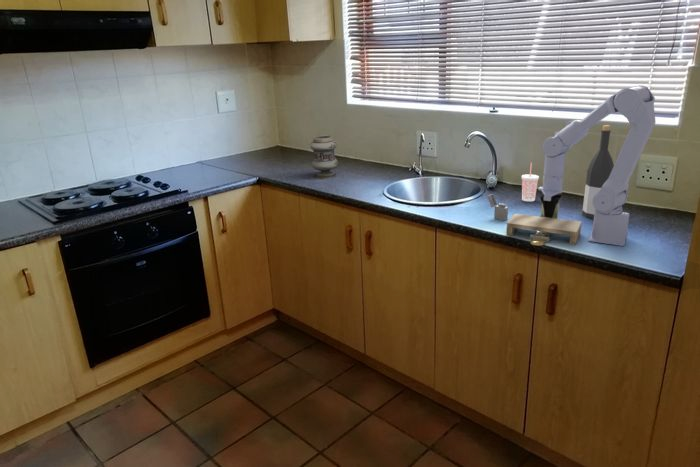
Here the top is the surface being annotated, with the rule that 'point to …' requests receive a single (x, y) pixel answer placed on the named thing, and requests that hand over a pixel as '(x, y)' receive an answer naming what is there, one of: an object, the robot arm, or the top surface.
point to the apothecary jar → (324, 156)
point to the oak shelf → (545, 225)
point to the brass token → (537, 242)
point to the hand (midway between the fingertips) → (549, 216)
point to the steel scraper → (542, 234)
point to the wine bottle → (597, 173)
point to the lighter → (498, 208)
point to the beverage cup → (529, 186)
